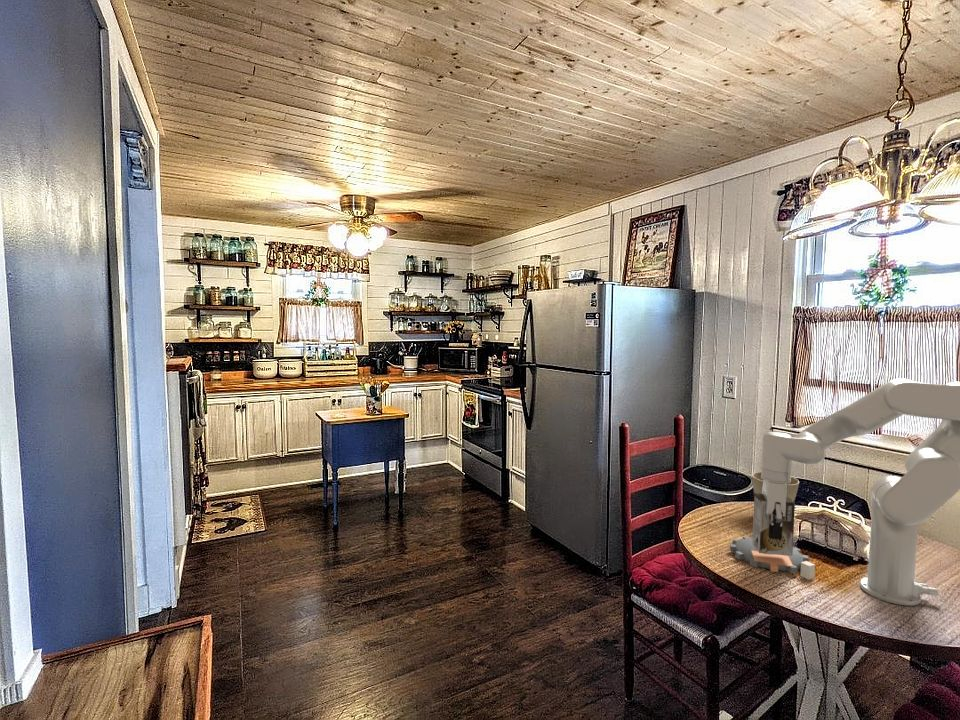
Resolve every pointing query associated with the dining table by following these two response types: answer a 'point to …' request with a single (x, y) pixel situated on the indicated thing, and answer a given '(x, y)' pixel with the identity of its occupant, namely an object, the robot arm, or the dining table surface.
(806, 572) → the wheel stand
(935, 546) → the dining table surface
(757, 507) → the coffee box
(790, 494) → the plant pot
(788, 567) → the index wheel
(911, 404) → the robot arm
